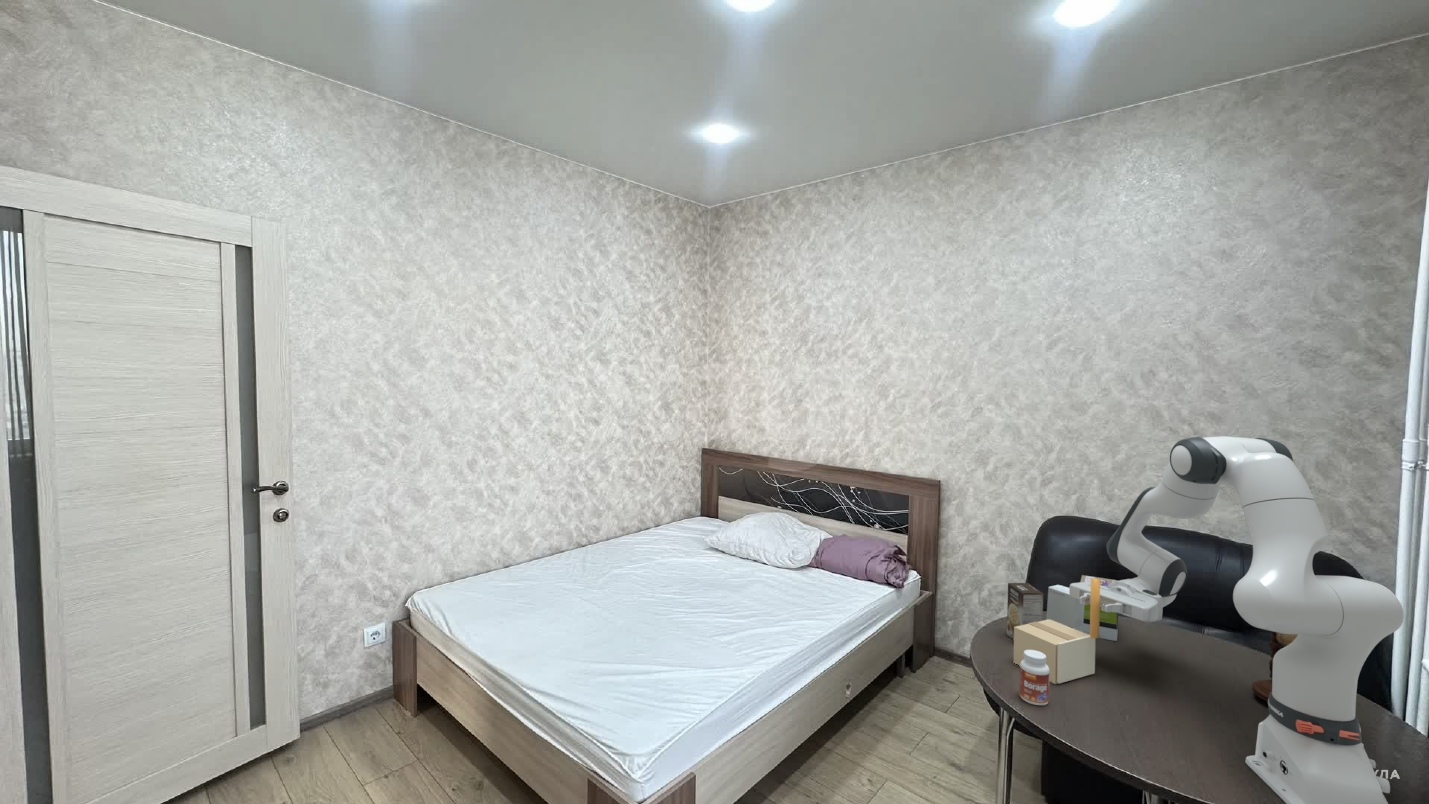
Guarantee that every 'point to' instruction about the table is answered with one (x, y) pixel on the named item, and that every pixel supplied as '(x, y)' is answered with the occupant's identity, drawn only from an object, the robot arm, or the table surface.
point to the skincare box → (1064, 608)
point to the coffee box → (1023, 606)
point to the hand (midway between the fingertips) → (1092, 604)
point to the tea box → (1101, 615)
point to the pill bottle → (1034, 678)
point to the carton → (1043, 641)
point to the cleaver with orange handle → (1080, 645)
